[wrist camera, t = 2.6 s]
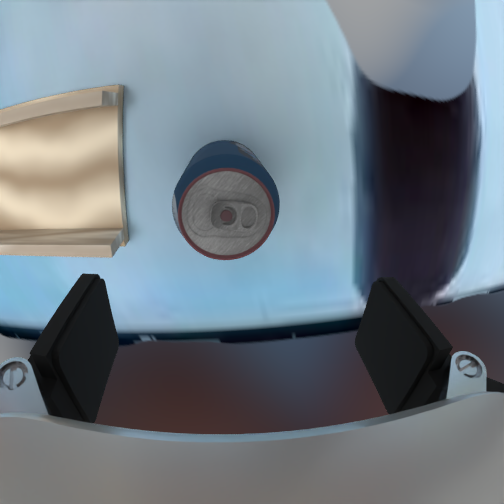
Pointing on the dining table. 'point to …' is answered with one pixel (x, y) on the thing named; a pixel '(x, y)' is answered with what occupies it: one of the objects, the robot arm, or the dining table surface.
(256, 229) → the soda can
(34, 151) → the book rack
